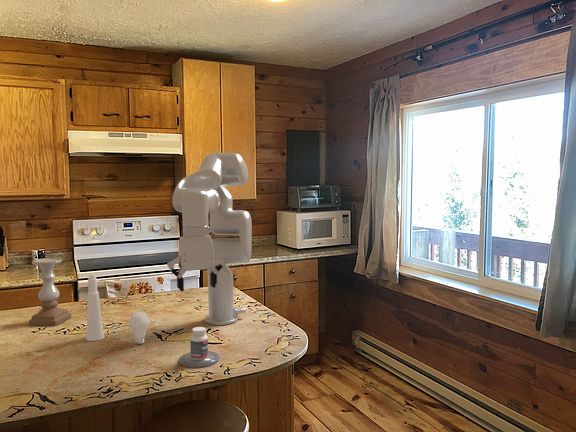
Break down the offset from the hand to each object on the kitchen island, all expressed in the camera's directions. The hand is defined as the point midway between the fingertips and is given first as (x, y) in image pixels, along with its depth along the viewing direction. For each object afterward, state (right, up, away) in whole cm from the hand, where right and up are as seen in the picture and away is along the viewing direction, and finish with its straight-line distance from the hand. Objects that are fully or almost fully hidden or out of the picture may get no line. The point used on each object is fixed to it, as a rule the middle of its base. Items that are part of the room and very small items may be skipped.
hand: (197, 288), depth 145 cm
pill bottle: (0, -22, +2) cm, 22 cm away
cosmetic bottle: (-39, -21, +22) cm, 49 cm away
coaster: (0, -22, +2) cm, 22 cm away
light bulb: (-22, -21, +16) cm, 34 cm away
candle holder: (-64, -19, +41) cm, 78 cm away
